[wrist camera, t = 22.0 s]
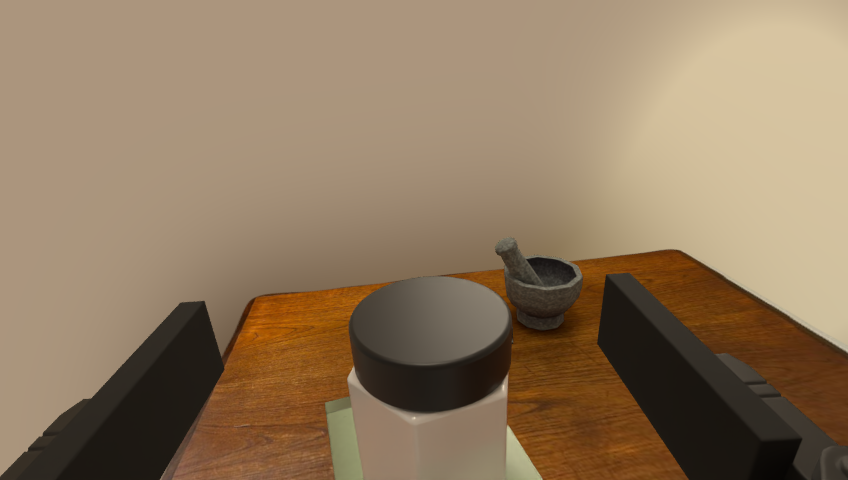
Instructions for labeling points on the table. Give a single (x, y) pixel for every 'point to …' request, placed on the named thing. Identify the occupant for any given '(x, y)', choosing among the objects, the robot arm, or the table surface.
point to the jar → (431, 380)
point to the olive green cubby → (347, 459)
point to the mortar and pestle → (539, 285)
